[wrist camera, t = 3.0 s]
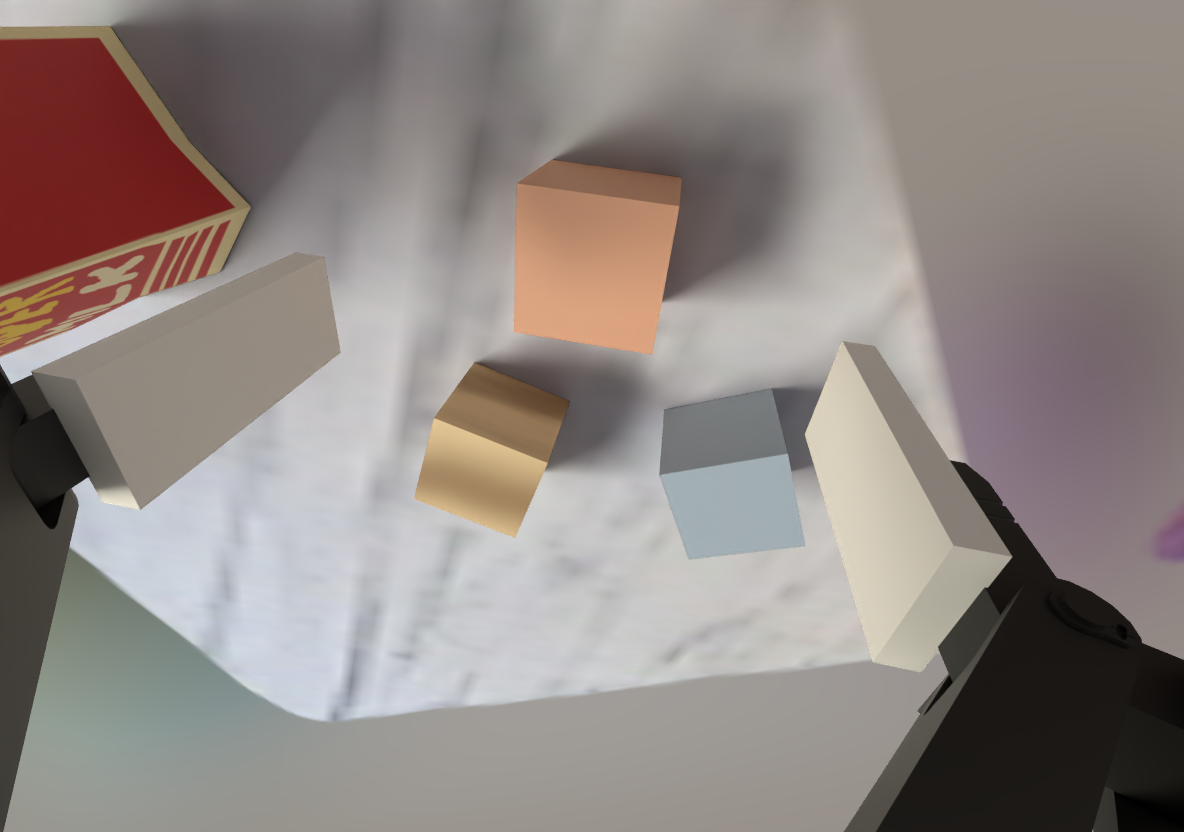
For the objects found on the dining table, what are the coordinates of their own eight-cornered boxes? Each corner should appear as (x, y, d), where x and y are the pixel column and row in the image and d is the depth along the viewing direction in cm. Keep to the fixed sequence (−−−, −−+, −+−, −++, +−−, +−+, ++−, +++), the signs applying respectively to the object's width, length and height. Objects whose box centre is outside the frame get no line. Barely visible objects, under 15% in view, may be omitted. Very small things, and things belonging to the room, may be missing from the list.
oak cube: (474, 361, 26) (434, 417, 22) (570, 400, 26) (547, 463, 22) (453, 436, 29) (413, 498, 25) (539, 470, 29) (514, 537, 25)
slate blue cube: (664, 409, 26) (659, 475, 22) (771, 387, 24) (788, 453, 20) (688, 486, 28) (688, 559, 24) (787, 471, 27) (805, 546, 23)
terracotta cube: (552, 159, 20) (517, 183, 16) (681, 177, 20) (679, 206, 16) (545, 284, 23) (513, 332, 19) (659, 302, 23) (651, 354, 19)
